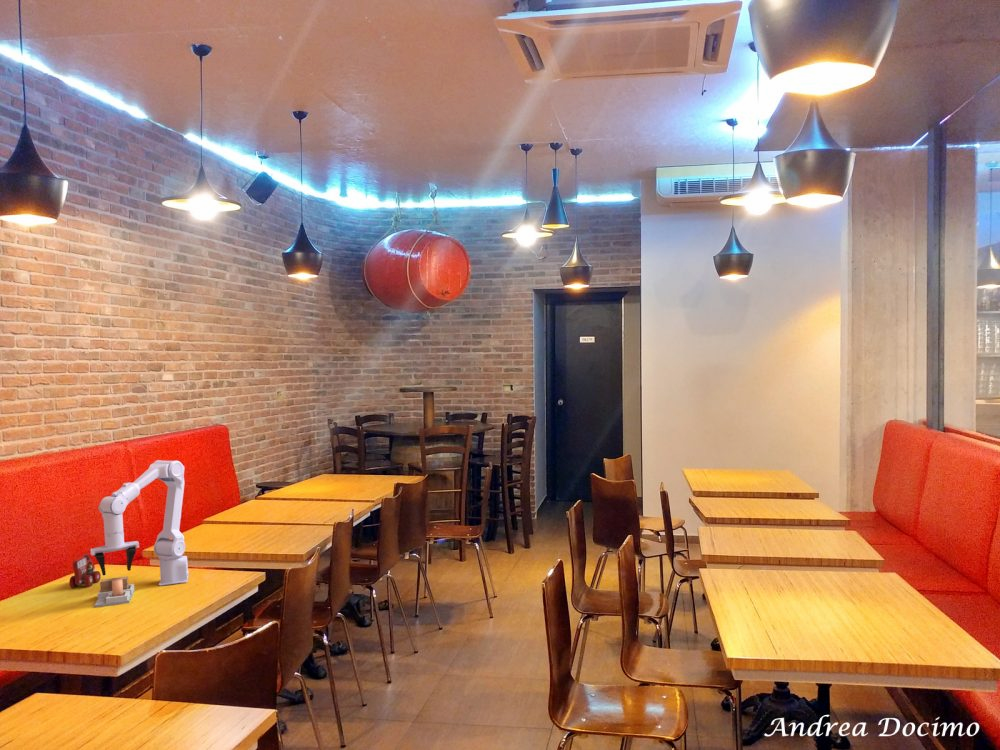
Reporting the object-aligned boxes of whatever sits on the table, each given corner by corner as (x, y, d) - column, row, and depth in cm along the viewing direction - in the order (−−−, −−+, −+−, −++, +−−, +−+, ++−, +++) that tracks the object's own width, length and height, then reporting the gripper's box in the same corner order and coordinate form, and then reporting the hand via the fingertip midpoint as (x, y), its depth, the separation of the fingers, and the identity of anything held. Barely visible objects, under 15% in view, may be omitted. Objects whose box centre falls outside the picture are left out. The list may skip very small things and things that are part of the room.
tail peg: (124, 597, 265) (123, 578, 264) (121, 600, 261) (120, 581, 261) (115, 598, 264) (113, 579, 264) (111, 600, 261) (110, 582, 261)
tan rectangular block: (128, 591, 272) (127, 576, 271) (127, 593, 268) (126, 578, 268) (102, 594, 269) (101, 579, 269) (101, 597, 266) (100, 582, 266)
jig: (134, 591, 274) (133, 583, 274) (129, 602, 261) (128, 595, 261) (101, 595, 271) (101, 588, 270) (94, 607, 257) (93, 599, 257)
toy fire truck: (103, 579, 292) (102, 551, 291) (86, 589, 279) (84, 560, 279) (85, 579, 292) (83, 552, 291) (66, 590, 279) (65, 561, 279)
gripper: (134, 526, 269) (137, 565, 270) (87, 534, 261) (90, 574, 261) (139, 529, 264) (141, 569, 264) (91, 537, 255) (94, 578, 256)
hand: (116, 572), depth 262 cm, fingers open, 7 cm apart
